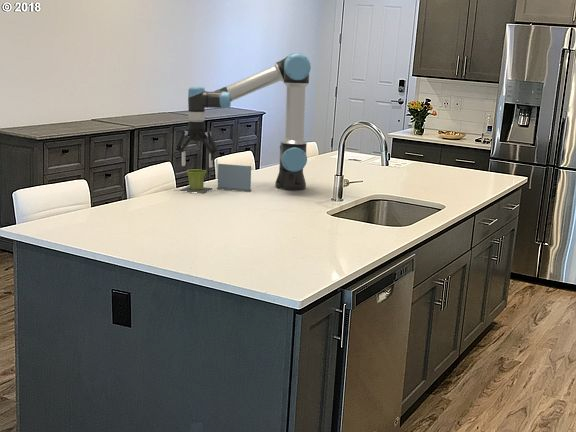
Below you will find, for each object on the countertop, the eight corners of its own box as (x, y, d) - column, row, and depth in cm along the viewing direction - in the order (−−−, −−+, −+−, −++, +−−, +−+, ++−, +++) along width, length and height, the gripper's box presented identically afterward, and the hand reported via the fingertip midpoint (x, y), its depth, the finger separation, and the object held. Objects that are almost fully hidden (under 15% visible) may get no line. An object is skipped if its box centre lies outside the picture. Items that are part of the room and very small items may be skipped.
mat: (212, 189, 367) (212, 188, 367) (203, 193, 356) (203, 192, 355) (188, 187, 370) (188, 186, 370) (179, 191, 358) (179, 190, 358)
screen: (251, 190, 366) (251, 165, 364) (249, 191, 363) (249, 166, 361) (219, 188, 370) (219, 163, 368) (217, 189, 367) (217, 164, 365)
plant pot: (208, 187, 367) (208, 169, 365) (204, 191, 358) (204, 172, 356) (188, 186, 368) (188, 168, 366) (184, 190, 358) (184, 171, 357)
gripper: (225, 121, 356) (225, 166, 361) (174, 119, 362) (175, 163, 367) (219, 122, 349) (219, 168, 354) (168, 120, 355) (169, 166, 360)
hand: (197, 166), depth 360 cm, fingers open, 13 cm apart
